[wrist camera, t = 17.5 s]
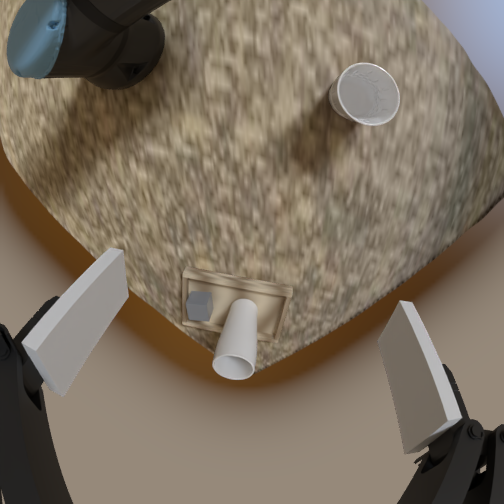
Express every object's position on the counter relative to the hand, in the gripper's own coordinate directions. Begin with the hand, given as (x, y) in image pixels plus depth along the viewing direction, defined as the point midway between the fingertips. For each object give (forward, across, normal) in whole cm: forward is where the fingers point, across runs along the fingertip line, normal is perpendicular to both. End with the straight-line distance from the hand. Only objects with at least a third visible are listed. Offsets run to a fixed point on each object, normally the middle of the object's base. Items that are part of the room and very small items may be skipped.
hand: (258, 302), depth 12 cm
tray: (+33, -3, -28) cm, 43 cm away
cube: (+32, -9, -28) cm, 43 cm away
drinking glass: (+32, -1, -27) cm, 42 cm away
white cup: (+33, +9, +13) cm, 37 cm away
